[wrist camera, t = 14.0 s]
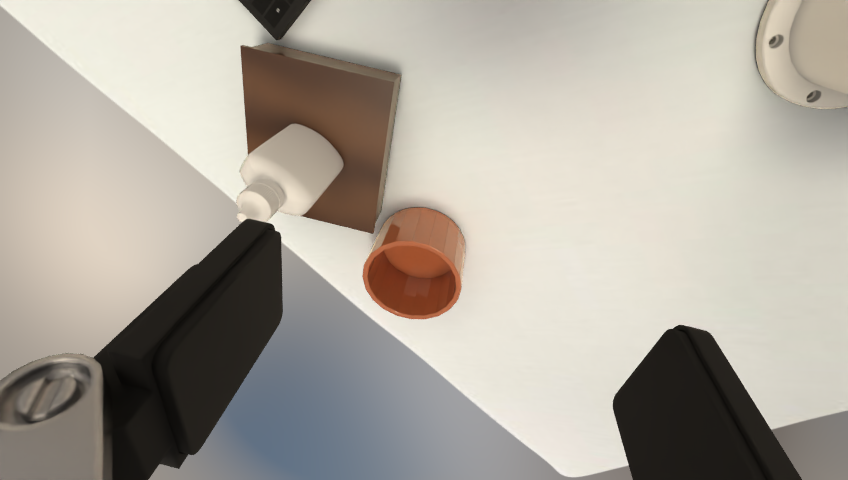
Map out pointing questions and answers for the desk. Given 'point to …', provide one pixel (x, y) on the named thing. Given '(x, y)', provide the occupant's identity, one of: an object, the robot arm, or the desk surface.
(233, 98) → the desk surface
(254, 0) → the calculator
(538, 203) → the desk surface
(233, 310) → the robot arm
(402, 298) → the pencil cup
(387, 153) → the walnut box
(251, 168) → the eye dropper bottle
